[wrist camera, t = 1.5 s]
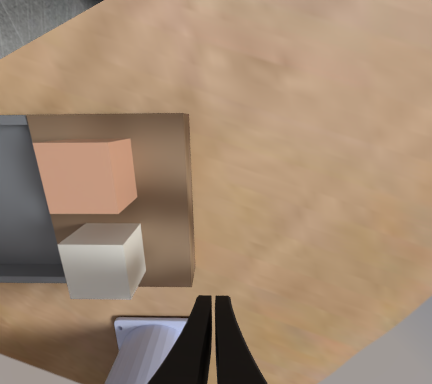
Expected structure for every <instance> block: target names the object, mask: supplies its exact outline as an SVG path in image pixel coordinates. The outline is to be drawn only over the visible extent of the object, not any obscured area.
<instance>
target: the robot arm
mask: <svg viewBox="0 0 432 384" xmlns="http://www.w3.org/2000/svg"><path fill="white" fill-rule="evenodd" d="M114 326H115V332H116V337H117V343H118V348H119V353H118V355H117V357H116V359H115V361H114V364H113V366H112V368H111V370H110V373H109V375H108V377H107V379H106V381H105V384H207V381H208V373H209V365H210V357H211V342H212V301H211V296H203V295H199V296H198V297H197V299H196V302H195V304H194V307H193V309H192V312H191V314H190V316H189V318H140V317H118V318H116V320H115V322H114ZM215 341H216V366H217V384H267V382H266V380H265V379H264V377H263V375H262V373H261V372H260V370H259V368H258V366H257V364H256V363H255V361H254V359H253V357H252V355H251V353H250V351H249V349H248V347H247V345H246V342H245V340H244V338H243V336H242V333H241V331H240V328H239V326H238V323H237V321H236V318H235V315H234V312H233V308H232V304H231V299H230V297H229V296H216V300H215Z"/></svg>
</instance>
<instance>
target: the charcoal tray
mask: <svg viewBox="0 0 432 384" xmlns="http://www.w3.org/2000/svg"><path fill="white" fill-rule="evenodd" d="M0 283H67V282H66V278H65V274H64V270H63V265H62V261H61V257H60V253H59V249H58V244H57V240H56V236H55V232H54V228H53V223H52V219H51V215H50V212H49V208H48V204H47V200H46V196H45V192H44V188H43V184H42V180H41V176H40V171H39V167H38V163H37V159H36V155H35V151H34V147H33V142H32V138H31V133H30V129H29V125H28V121H27V117H26V115H0Z"/></svg>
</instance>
